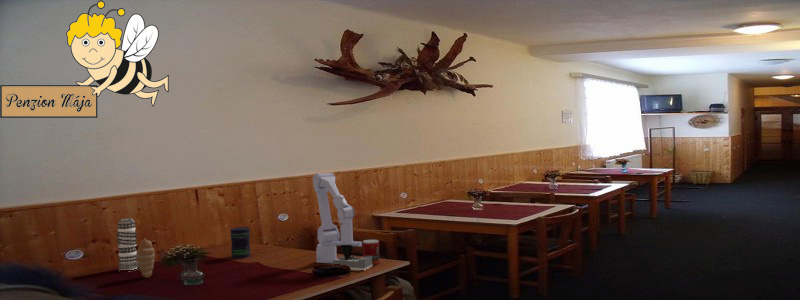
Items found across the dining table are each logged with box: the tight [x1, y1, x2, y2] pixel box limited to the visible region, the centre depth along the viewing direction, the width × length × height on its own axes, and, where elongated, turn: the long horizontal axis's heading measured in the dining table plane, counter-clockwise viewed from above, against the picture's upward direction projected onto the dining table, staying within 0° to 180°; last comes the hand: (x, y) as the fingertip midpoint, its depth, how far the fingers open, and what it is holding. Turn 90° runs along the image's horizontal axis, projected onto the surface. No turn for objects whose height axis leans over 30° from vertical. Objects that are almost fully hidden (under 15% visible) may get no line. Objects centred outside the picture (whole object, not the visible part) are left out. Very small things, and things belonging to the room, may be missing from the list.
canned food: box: [362, 239, 380, 266], centre depth 288 cm, size 8×8×11 cm
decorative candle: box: [116, 217, 139, 271], centre depth 290 cm, size 9×9×25 cm
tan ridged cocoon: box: [136, 237, 156, 279], centre depth 272 cm, size 9×8×18 cm
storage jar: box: [230, 226, 251, 259], centre depth 315 cm, size 10×10×15 cm
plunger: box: [348, 255, 359, 261], centre depth 279 cm, size 4×7×4 cm
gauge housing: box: [332, 255, 374, 271], centre depth 280 cm, size 17×10×5 cm, turn 71°
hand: (347, 261), depth 281 cm, fingers closed
